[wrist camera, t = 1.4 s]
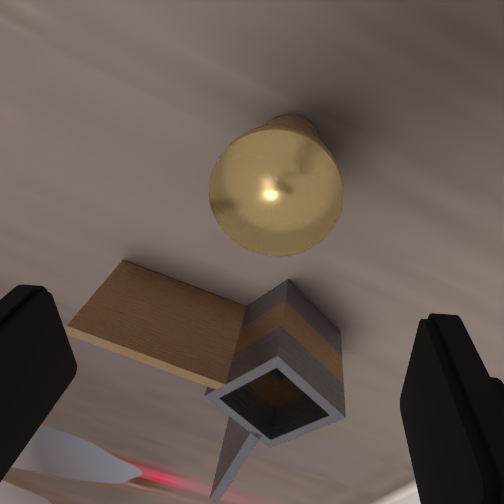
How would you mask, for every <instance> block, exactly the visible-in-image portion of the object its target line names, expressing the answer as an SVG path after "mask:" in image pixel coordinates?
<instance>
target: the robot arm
mask: <svg viewBox="0 0 504 504" xmlns="http://www.w3.org/2000/svg"><path fill="white" fill-rule="evenodd" d="M76 371H77V364H76V361H75V358H74V355H73V352H72V349H71V347H70V344H69V341H68V338H67V335H66V332H65V330H64V327H63V324H62V321H61V318H60V316H59V313H58V310H57V307H56V304H55V302H54V299H53V296H52V294H51V293H50V292H48V291H47V289H46V288H45V287H43V286H36V285H18V286H17V287H15V288H14V289H13V290H11V291H10V292H9V293H8V294H7V295H6V296H4V297H3V298H2V299H1V300H0V482H1V480H2V479H3V478H4V476H5V475H6V473H7V472H8V471H9V469H10V468H11V466H12V465H13V463H14V462H15V461H16V459H17V458H18V456H19V455H20V453H21V452H22V451H23V449H24V448H25V446H26V445H27V444H28V442H29V441H30V439H31V438H32V436H33V435H34V434H35V432H36V431H37V429H38V428H39V427H40V425H41V424H42V422H43V421H44V419H45V418H46V417H47V415H48V414H49V412H50V411H51V410H52V408H53V407H54V405H55V404H56V402H57V401H58V400H59V398H60V397H61V395H62V394H63V393H64V391H65V390H66V388H67V387H68V385H69V384H70V383H71V381H72V380H73V378H74V377H75V374H76ZM400 411H401V416H402V420H403V425H404V429H405V434H406V438H407V443H408V448H409V452H410V457H411V461H412V466H413V470H414V475H415V479H416V484H417V488H418V493H419V497H420V502H421V504H504V384H503V382H502V381H501V380H499V379H498V378H493V377H490V376H489V374H488V372H487V370H486V368H485V366H484V364H483V362H482V360H481V358H480V356H479V354H478V352H477V350H476V348H475V346H474V344H473V342H472V340H471V338H470V336H469V334H468V332H467V330H466V328H465V326H464V324H463V322H462V320H461V318H460V317H459V316H457V315H448V314H434V313H432V314H430V315H429V316H428V319H421V320H420V322H419V325H418V329H417V333H416V337H415V341H414V345H413V349H412V353H411V357H410V361H409V365H408V369H407V373H406V377H405V381H404V385H403V389H402V393H401V397H400Z"/></svg>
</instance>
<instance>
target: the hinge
mask: <svg viewBox="0 0 504 504" xmlns="http://www.w3.org/2000/svg"><path fill="white" fill-rule="evenodd" d="M66 334H67V335H70V336H72V337H75V338H78V339H80V340H83V341H86V342H88V343H91V344H94V345H97V346H99V347H102V348H105V349H107V350H110V351H113V352H116V353H118V354H121V355H124V356H126V357H129V358H132V359H134V360H137V361H140V362H143V363H145V364H148V365H151V366H153V367H156V368H159V369H162V370H164V371H167V372H170V373H172V374H175V375H178V376H180V377H183V378H186V379H189V380H191V381H194V382H197V383H199V384H202V385H205V386H207V390H206V393H205V397H206V398H207V399H209V400H210V401H211V402H212V403H214V404H215V405H216V406H217V407H219V408H220V409H221V410H223V411H224V412H225V413H226V414H228V415H229V416H230V417H229V420H228V424H227V428H226V432H225V436H224V441H223V445H222V449H221V453H220V457H219V461H218V466H217V470H216V474H215V478H214V482H213V487H212V491H211V495H210V499H209V500H212V501H215V502H219V501H220V499H221V497H222V496H223V494H224V493H225V491H226V490H227V488H228V487H229V485H230V484H231V482H232V481H233V479H234V477H235V476H236V474H237V473H238V471H239V470H240V468H241V467H242V465H243V464H244V462H245V461H246V459H247V457H248V456H249V454H250V453H251V451H252V450H253V448H254V447H255V445H256V444H257V442H258V440H260V441H261V442H263V443H264V444H265V445H266V446H268V447H269V448H272V447H275V446H277V445H279V444H282V443H284V442H287V441H289V440H292V439H294V438H297V437H299V436H302V435H304V434H307V433H309V432H312V431H314V430H316V429H319V428H321V427H324V426H326V425H329V424H331V423H334V422H336V421H339V420H341V419H344V418H346V416H345V399H344V382H343V365H342V348H341V332H340V331H339V330H338V329H337V328H336V327H335V326H334V325H333V324H332V323H331V322H330V321H329V320H328V319H327V318H326V317H325V316H324V315H323V314H322V313H321V312H320V311H319V310H318V309H317V308H316V307H315V306H314V305H313V304H312V303H311V302H310V301H309V300H308V299H307V298H306V297H305V296H304V295H303V294H302V293H301V292H300V291H299V290H298V289H297V288H296V287H295V286H294V285H293V284H292V283H291V282H290V281H289V280H286V281H285V282H283V283H282V284H280V285H279V286H277V287H276V288H274V289H273V290H271V291H270V292H268V293H267V294H265V295H264V296H262V297H261V298H259V299H258V300H256V301H255V302H253V303H252V304H250V305H249V306H247V307H246V306H243V305H240V304H238V303H235V302H232V301H230V300H227V299H225V298H222V297H219V296H217V295H214V294H211V293H209V292H206V291H204V290H201V289H198V288H196V287H193V286H190V285H188V284H185V283H183V282H180V281H177V280H175V279H172V278H169V277H167V276H164V275H162V274H159V273H156V272H154V271H151V270H148V269H146V268H143V267H141V266H138V265H135V264H133V263H130V262H127V261H125V260H122V262H121V263H120V264H119V265H118V266H117V267H116V269H115V270H114V271H113V272H112V273H111V274H110V276H109V277H108V278H107V279H106V280H105V281H104V283H103V284H102V285H101V286H100V287H99V289H98V290H97V291H96V292H95V293H94V294H93V296H92V297H91V298H90V299H89V300H88V301H87V303H86V304H85V305H84V306H83V307H82V308H81V310H80V311H79V312H78V313H77V314H76V316H75V317H74V318H73V319H72V320H71V321H70V323H69V324H68V325H67V329H66Z"/></svg>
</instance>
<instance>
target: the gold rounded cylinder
mask: <svg viewBox="0 0 504 504" xmlns="http://www.w3.org/2000/svg"><path fill="white" fill-rule="evenodd" d="M209 200H210V205H211V209H212V212H213V214H214V217H215V219H216V221H217V222H218V224H219V226H220V227H221V228H222V230H223V231H224V232H225V233H226V234H227V235H228V236H229V237H230V238H231V239H232V240H233V241H234V242H236V243H237V244H239V245H240V246H242V247H244V248H245V249H247V250H250V251H252V252H255V253H258V254H262V255H267V256H278V257H279V256H290V255H295V254H298V253H302V252H304V251H306V250H309V249H311V248H312V247H314V246H316V245H317V244H319V243H320V242H321V241H322V240H324V238H325V237H326V236H327V235H328V234H329V233H330V232H331V231H332V229H333V228H334V226H335V224H336V223H337V221H338V218H339V216H340V213H341V209H342V205H343V186H342V179H341V174H340V170H339V167H338V164H337V162H336V160H335V158H334V156H333V155H332V154H331V152H330V151H329V149H328V148H327V147H326V146H325V145H324V144H323V143H322V142H321V141H320V138H319V135H318V132H317V130H316V129H315V127H314V126H313V125H312V124H311V123H310V122H309V121H308V120H306V119H305V118H303V117H301V116H297V115H292V114H286V115H281V116H278V117H276V118H274V119H272V120H271V121H269V122H268V123H267V124H266V125H265V126H262V127H258V128H255V129H252V130H250V131H248V132H245V133H244V134H242V135H241V136H239V137H238V138H236V139H235V140H234V141H233V142H232V143H231V144H230V145H229V146H228V147H227V148H226V150H225V151H224V152H223V153H222V155H221V156H220V158H219V159H218V161H217V162H216V164H215V166H214V168H213V171H212V174H211V177H210V183H209Z"/></svg>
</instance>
